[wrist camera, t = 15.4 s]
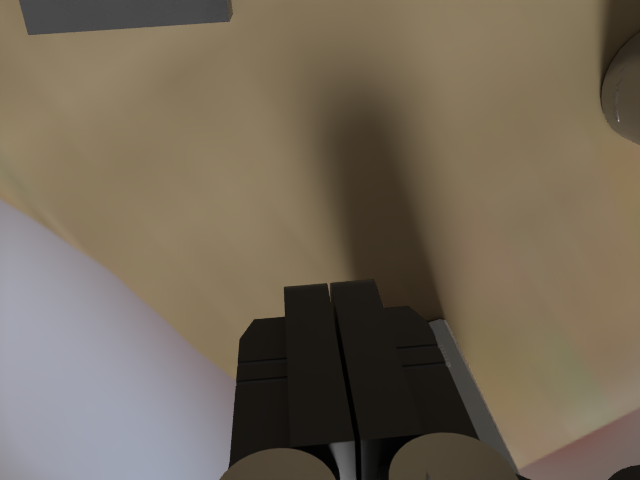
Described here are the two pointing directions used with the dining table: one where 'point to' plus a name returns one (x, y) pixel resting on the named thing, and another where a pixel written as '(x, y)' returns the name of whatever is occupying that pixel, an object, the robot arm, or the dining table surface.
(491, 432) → the hard drive box
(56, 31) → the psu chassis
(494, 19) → the dining table surface
